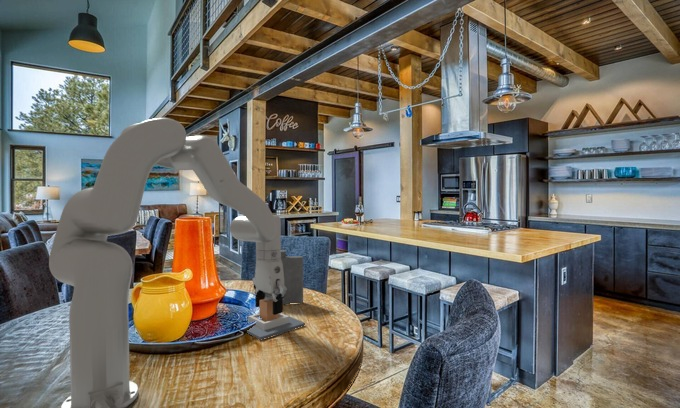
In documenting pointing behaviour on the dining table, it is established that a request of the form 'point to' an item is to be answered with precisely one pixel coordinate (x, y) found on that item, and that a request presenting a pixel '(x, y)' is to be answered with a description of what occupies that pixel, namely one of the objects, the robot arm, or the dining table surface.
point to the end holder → (272, 326)
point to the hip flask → (292, 278)
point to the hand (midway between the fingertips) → (268, 309)
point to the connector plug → (267, 309)
